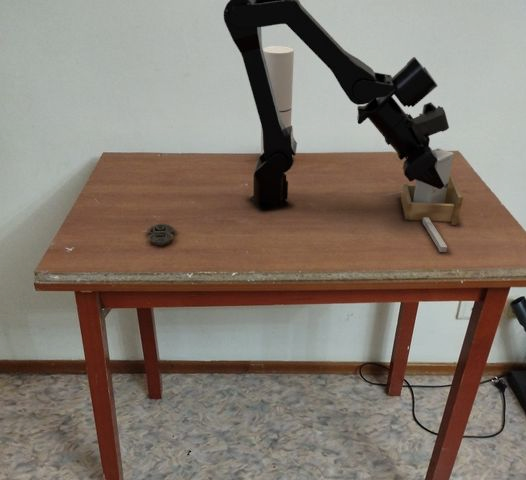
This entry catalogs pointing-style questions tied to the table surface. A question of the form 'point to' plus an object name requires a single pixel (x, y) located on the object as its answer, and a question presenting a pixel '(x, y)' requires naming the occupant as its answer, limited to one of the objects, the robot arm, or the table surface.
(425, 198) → the cosmetic box
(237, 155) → the table surface
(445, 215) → the wooden tray frame
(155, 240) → the corroded twin loop
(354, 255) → the table surface
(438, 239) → the ruler
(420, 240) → the table surface
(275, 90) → the cylindrical container
